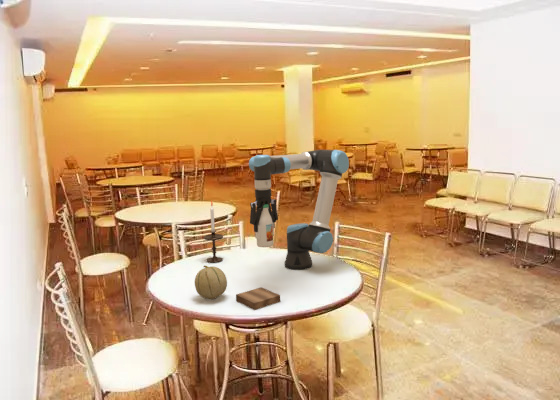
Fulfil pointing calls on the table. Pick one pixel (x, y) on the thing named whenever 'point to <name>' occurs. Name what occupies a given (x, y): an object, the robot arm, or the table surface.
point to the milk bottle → (265, 228)
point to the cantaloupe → (210, 282)
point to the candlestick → (213, 239)
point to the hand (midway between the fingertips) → (264, 237)
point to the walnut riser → (258, 298)
